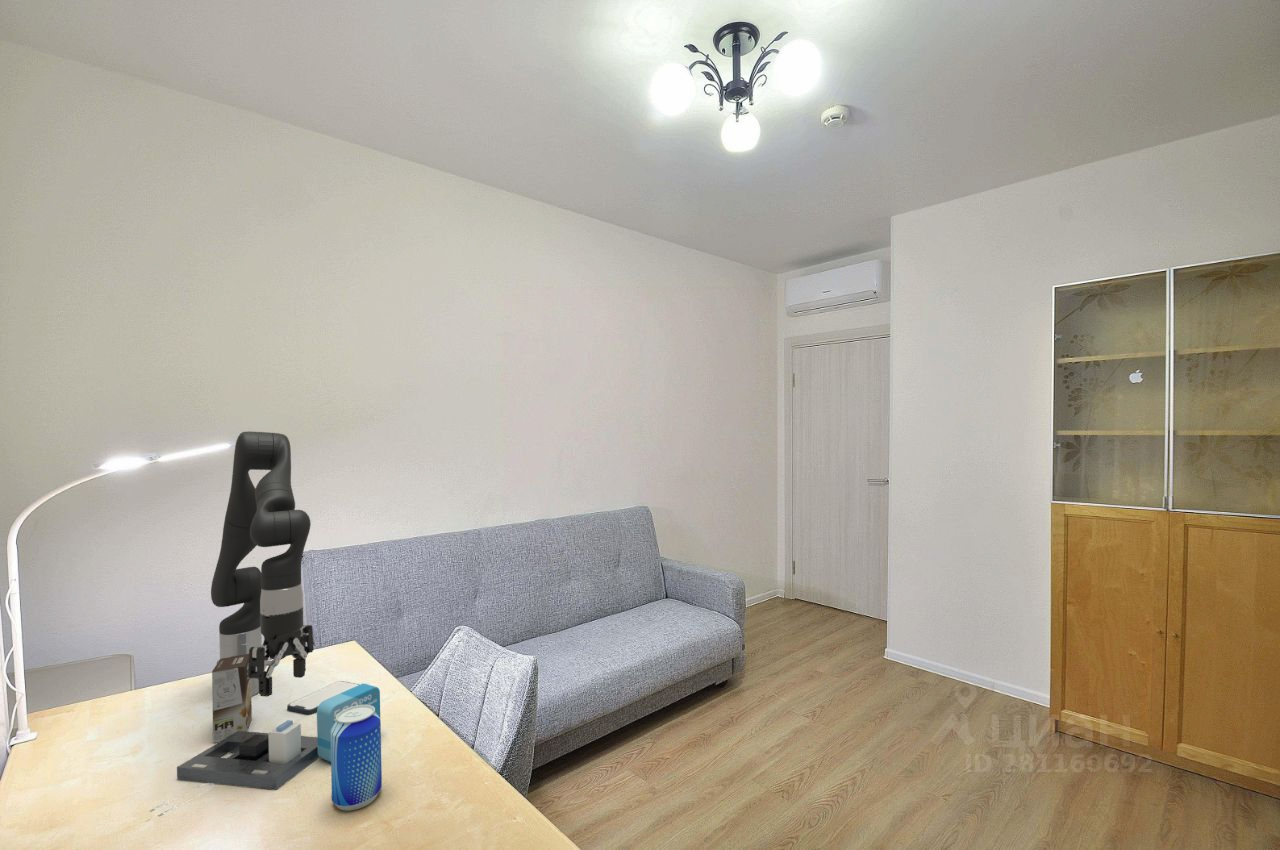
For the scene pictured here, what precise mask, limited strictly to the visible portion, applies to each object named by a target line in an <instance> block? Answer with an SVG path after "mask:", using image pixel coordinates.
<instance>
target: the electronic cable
mask: <svg viewBox="0 0 1280 850" xmlns="http://www.w3.org/2000/svg"><path fill="white" fill-rule="evenodd" d="M209 784H211V785H212V786H211V787H210V788H208V789H207V790H205V791H204V792H202V793H200V794H198V795H197V796H195V797H192V798H191V799H189V800H187V801H184V802H183V803H180V804H178V805H176V806H172V807H170V808H168V809H166V810H164V811H162V812H161V813H160V814H157V817H162V816H164V815H166V814H168V813H170V812H172V811H174V810H176V809H177V808H179V807H180V806H182V805H184V804H186V803H188V802H189V801H192V800H194V799H196V798H197V797H199V796H201V795H204V794H205V793H207V792H208V791H210V790H212V789H213V788H214V786H215V784H214V783H203V784H201V785H198V786H196V787H195V788H193V789H190V790H189V791H186V792H184V793H182V794H180V795H179V796H177V797H175V798H173V799H170V800H169V801H167V802H163V803H160V804H158V805H157V806H155V807H153V808H152V809H150V810H149V811H148V812H149V813H152V812H153V811H157V810H159V809H161V808H163V807H165V806H167V805H168V804H169V803H171V802H173V801H174V800H177V799H179V798H180V797H182V796H184V795H186V794H188V793H190V792H192V791H194V790H196V789H197V788H201V787H202V786H205V785H209Z"/></svg>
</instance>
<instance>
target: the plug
mask: <svg viewBox="0 0 1280 850" xmlns="http://www.w3.org/2000/svg"><path fill="white" fill-rule="evenodd" d="M301 725H302V724H301V723H297V722H296V723H295V722H294V721H293V720H291V719H290V720H289V719H288V720H286V721H285V722H282V723H281V724H279V725H278V726H276V727H275V728H273V729H271V730H270V731H268V732H267V733H268V735H269V762H273V763H283V764H286V763H288V762H289V761H290V760H292V759H293V758H295V757H296V756H297V755H299V754H300V753H301V736H302V730H301V728H302V726H301Z"/></svg>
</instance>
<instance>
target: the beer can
mask: <svg viewBox="0 0 1280 850" xmlns="http://www.w3.org/2000/svg"><path fill="white" fill-rule="evenodd" d="M381 722H382V721H381V716H380V717H379V716H378V715H377V713H376V712H375V708H374V707H373V706H371V705H357V706H353V707H350V708H347V709H345V710H343V711H341V712H340V713H338V714H337V716H336V721H335V723H334V725H333V726H332V728H331V762H330V770H331V771H330V772H331V775H330V776H331V777H330V779H331V801H332V803H333V804H334V805H335V806H336V807H337V808H338V810H341V811H344V812H345V811H346V812H347V811H349V812H350V811H354V810H359V809H362V808H365V807H366V806H368V805H370V804H372V802H374V800H375V799H377V796H378V794H379V793H380V791H381V790H382V786H383V785H382V784H383V782H382V781H383V780H382V779H383V778H382V777H383V775H382V734H381V733H382V732H381V731H382V728H381V727H382V726H381V725H382V724H381Z"/></svg>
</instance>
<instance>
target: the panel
mask: <svg viewBox="0 0 1280 850" xmlns="http://www.w3.org/2000/svg"><path fill="white" fill-rule="evenodd" d="M227 754H231V755H230V756H227V757H224V756H226V755H227ZM319 758H320V757H319V756H318V746H317V736H306V735H301V753H300V754H299V755H297V756H296V757H295V758H293V759H292V760H290V761H289V762H288V763H286V764H283V763H273V762H269V735H268V732H259V731H258V732H257V731H249V730H247V731H237V732H235V733H234V734H232V735H230V736H228V737H227V738H225V739H223V740H222V741H220V742H217V743H214V745H212V746H210V747H209V748H207V749H205V750H204V751H202V752H200V753H199V754H197V755H195V756H193V757H191V758H190V759H188V760H187V761H185V762H183V763H182V764H180V765H179V766H176V780H178V781H184V782H187V781H188V782H195V783H196V782H197V783H203V784H206V783H214V785H215V784H217V785H225V786H231V787H235V786H236V787H242V788H243V787H245V788H252V789H254V788H255V789H263V790H271V791H272V790H273V791H277V790H279V789H280V788H282V787H283V786H285V784H287V783H288V782H290V780H291V779H293V778H294V777H296V775H298V774H300V773H301V772H302V771H304V769H306V768H307V767H308V766H310V765H311V764H313V763H314V762H315V761H316V760H318V759H319Z"/></svg>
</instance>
